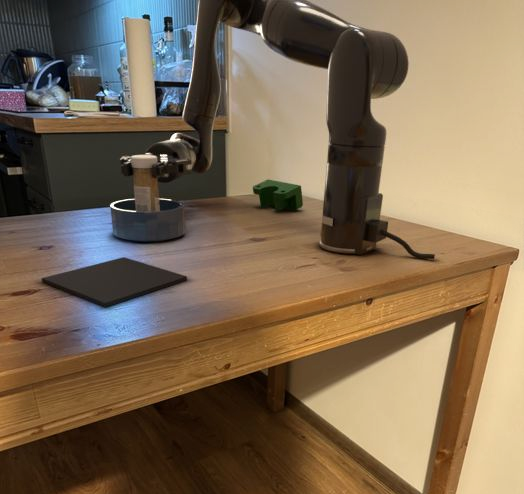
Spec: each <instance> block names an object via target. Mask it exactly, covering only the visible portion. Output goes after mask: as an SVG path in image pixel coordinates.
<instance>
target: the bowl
mask: <svg viewBox="0 0 524 494" xmlns="http://www.w3.org/2000/svg"><path fill="white" fill-rule="evenodd" d="M159 204H160V211H136V205H135V198H128V199H122V200H117V201H113V202H111V203H110V204H109V207H110V217H111V226H112V235H113V236H115V237H117V238H120V239H122V240H126V241H131V242H139V243H141V242H143V243H148V242H149V243H154V242H164V241H169V240H173V239H175V238H179V237H180V236H184V234H185V233H186V219H185V218H186V215H185V213H186V212H185V204H184V203H183V202H182V201H179V200H174V199H167V198H159Z"/></svg>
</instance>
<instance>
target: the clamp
mask: <svg viewBox="0 0 524 494" xmlns="http://www.w3.org/2000/svg"><path fill="white" fill-rule="evenodd" d="M252 192H253V194H254V195H257V196H258V197H259V205H260V208H261V209H263V208H265V207H266V208H267V207H269V206H270V207H274V210H275V211H274V212H276V213H277V212H278V213H279V212H280V211H282V210H287V211H288V210H289V211H292V212H295V211H297V210H299V209H301V208H302V207H303V205H304V200H303V192H302V185H300V184H295V183H289V182H284V181H280V180H279V181H278V180H273V179H265V180H264V181H261V182H259V183H257V184H254V185H252Z"/></svg>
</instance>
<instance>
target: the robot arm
mask: <svg viewBox="0 0 524 494" xmlns="http://www.w3.org/2000/svg"><path fill="white" fill-rule="evenodd" d="M220 23H221V24H222V25H226V26H228V27H231V28H234V29H237V30H241V31H245V32H250V33H252V34H256V35H258V36H260V37H261V39H262V41H263V43H264V44H265V45H266V46H267V47H268V48H269V49H271V50H272V51H273V52H275V53H277V54H279V55H281V56H282V57H283V58H286V59H288V60H290V61H293V62H295V63H298V64H302V65H306V66H309V67H313V68H318V69H324V70H327V83H326V110H325V111H326V114H325V118H326V119H325V120H326V126H327V131H328V143H327V144H328V145H327V157H326V168H325V180H324V193H323V204H322V216H321V230H320V239H319V247H320V248H322V249H323V250H326V251H329V252H333V253H339V254H351V255H353V254H354V255H359V256H361V255H363V254H366V253H368V252H371V251H373V250H376V249H377V244H378V242H381V241H384V240H386V239H390V240H392V241H394V242H396V243H397V244H399V245H401V246H402V248H404V250H405V251H406V252H407V253H408V254H409V255H410V256H411V257H413V258H416V259H421V260H422V259H423V260H435V257H436V254H435V253H420V252H417V251H415V250H414V249H412V247H411V246H410V245H409V243H407V241H405V240H403V239H402V238H401V237H399V236H397V235H395V234H393V233H391V232H388V228H389V220H388V221H387V220H383V219H381V214H382V206H383V198H384V195H383V193H382V192H380V185H381V178H382V171H383V163H384V155H385V148H386V141H387V128H386V127H385V125H383V124H382V123H381V122H379V121H377V120H376V118H375V117H374V115H373V112H372V108H371V107H372V106H371V105H372V100H378V99H383V98H386V97H388V96H390V95H392V94H394V93H396V91H398V90H399V89H400V88H401V87H402V85H403V84H404V82H405V81H406V78H407V76H408V73H409V56H408V52H407V49H406V46H405V45H404V43H403V42H402V41H401V39H399V38H398V37H397V36H396V35H395V34H393V33H390V32H387V31H386V32H385V31H382V30H374V29H369V28H365V27H362V26H358V25H356V24H353V23H351V22H348V21H346V20H344V19H343V18H341V17H340V16H338V15H336V14H334V12H333V13H332V12H331V11H329V10H327V9H326V8H323V7H321V6H319V5H317V4H316V3H313V2H312V1H310V0H198V6H197V15H196V26H195V37H194V46H193V47H194V48H193V60H192V61H193V62H192V70H191V76H190V81H189V86H188V90H187V94H186V98H185V103H184V108H183V111H182V120H183V122H184V123H185V124H186V125H187V126H189V127H190V128H192V129H193V130H194V131H195V132H196V133H197V135H198V139H197V138H195V137H192V136H190V135H187V134H185V133H182V132H176V133H174V134H172V135H171V137H170V138H169V139H167V140H163V141H159V142H155V143H153V144H151V145H149V147H148V148H147V149H146V151H145V153H144V154H143V155H153V156H156V157H157V163H156V164H153V165H152V176H153V178H157V181H158V183H161V184H168V183H171V182H174V181H175V180H177V179H179V178H181V177H183V176H185V175H191V174H193V173H196V174H198V175H199V174H200V175H201V174H205V173H206V172H207V171H208V170H209V169H210V168H211V164H212V161H213V131H214V124H215V120H216V115H217V111H218V108H219V104H220V99H221V94H222V82H221V76H220V75H221V74H220V69H219V65H218V59H217V52H216V51H217V50H216V38H217V32H218V28H219V24H220ZM119 166H120V174H122V175H123V177H127V178H129V177H133V167H132V166H131V156H129V155H124V156H121V157H120V158H119Z"/></svg>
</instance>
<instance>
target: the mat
mask: <svg viewBox="0 0 524 494" xmlns="http://www.w3.org/2000/svg"><path fill="white" fill-rule="evenodd" d="M185 281H188V276H187V275H185V274H180V273H177V272H175V271H171V270H167V269H164V268H160V267H157V266H154V265H151V264H148V263H144V262H141V261H138V260H135V259H131V258H128V257H124V256H123V257H119V258H115V259H111V260H108V261H103V262H99V263H96V264H92V265H88V266H83V267H79V268H75V269H73V270H67V271H64V272H60V273H57V274H56V273H55V274H53V275H49V276H44V277H41V282H42V283H44V284H46V285H48V286H52V287H54V288H55V289H58V290H61V291H64V292H66V293H68V294H71V295H74V296H77V297H79V298H81V299H84V300H86V301H89V302H91V303H93V304H96V305H98V306H101V307H103V308H109V307H111V306H115V305H117V304H120V303H122V302H126V301H128V300H129V301H130V300H131V299H134V298H138V297H141V296H144V295H147V294H150V293H153V292H156V291H158V290H162V289H165V288H167V287H171V286H174V285H176V284H181V283H183V282H185Z"/></svg>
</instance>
